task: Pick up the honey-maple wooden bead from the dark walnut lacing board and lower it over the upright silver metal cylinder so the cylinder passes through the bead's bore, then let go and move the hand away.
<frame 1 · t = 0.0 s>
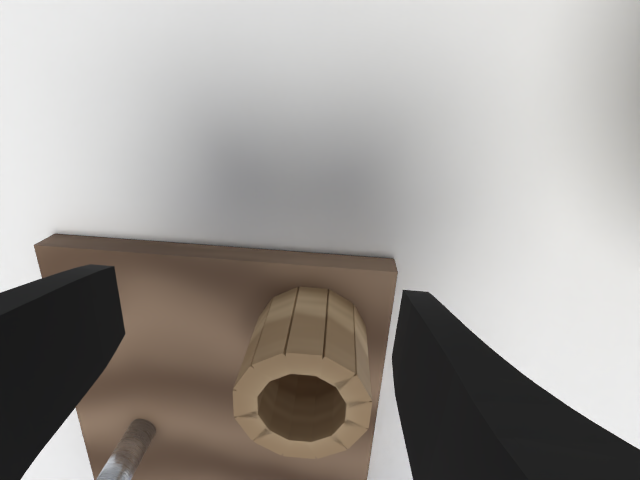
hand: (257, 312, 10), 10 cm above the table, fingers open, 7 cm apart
bead: (311, 334, 20), point 1 cm above the table, touching lacing board
lacing board: (228, 379, 24), on the table
silver metal cylinder: (143, 428, 24), resting on lacing board
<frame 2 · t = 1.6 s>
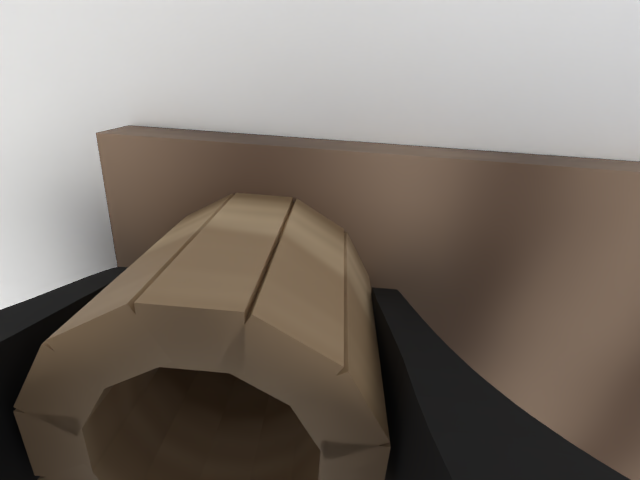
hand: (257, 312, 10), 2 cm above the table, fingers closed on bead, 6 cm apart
bead: (264, 293, 11), point 1 cm above the table, touching gripper, lacing board
lacing board: (411, 405, 14), on the table
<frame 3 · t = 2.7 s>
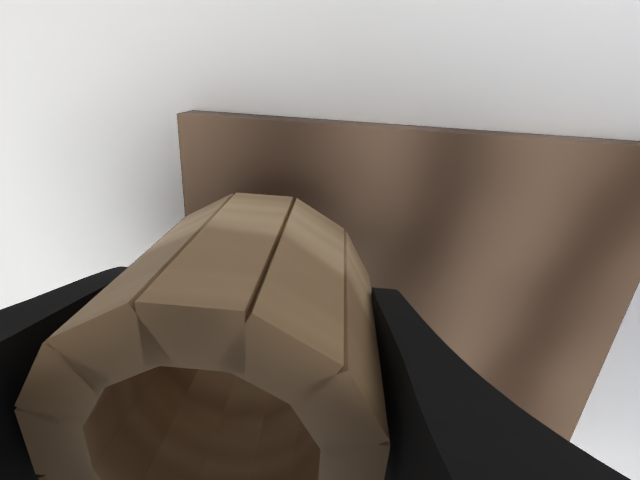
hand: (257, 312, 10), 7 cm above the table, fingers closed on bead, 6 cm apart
bead: (264, 293, 11), point 6 cm above the table, touching gripper
lacing board: (392, 322, 18), on the table
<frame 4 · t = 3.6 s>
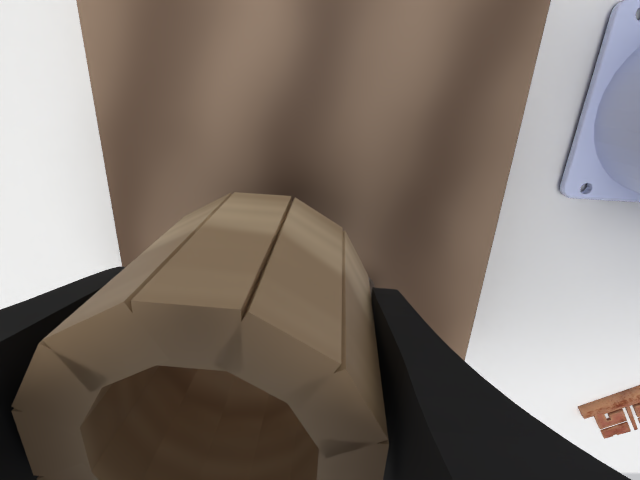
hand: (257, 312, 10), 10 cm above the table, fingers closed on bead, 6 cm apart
bead: (263, 293, 11), point 9 cm above the table, touching gripper
lacing board: (304, 179, 19), on the table
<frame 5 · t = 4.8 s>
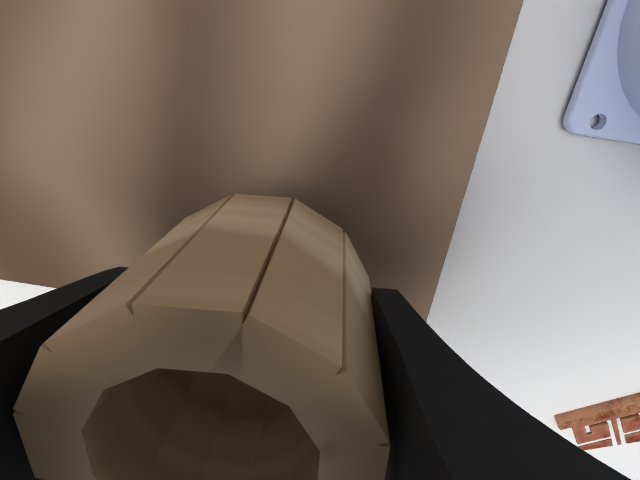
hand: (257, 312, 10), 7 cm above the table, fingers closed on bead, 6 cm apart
bead: (263, 294, 11), point 6 cm above the table, touching gripper
lacing board: (225, 78, 14), on the table
when the fingers open (5 cm above the table, at t = 5.7 s): bead drops 3 cm, resting on lacing board.
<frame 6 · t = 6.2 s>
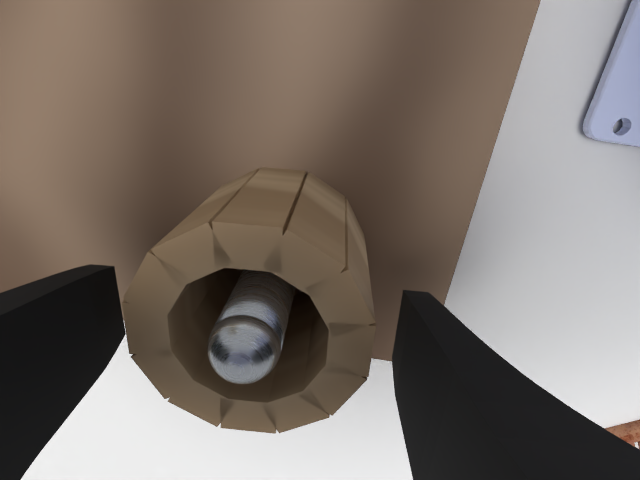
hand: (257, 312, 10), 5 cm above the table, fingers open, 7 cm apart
bead: (281, 249, 13), point 1 cm above the table, touching lacing board
lacing board: (213, 79, 13), on the table
silver metal cylinder: (280, 248, 13), resting on lacing board
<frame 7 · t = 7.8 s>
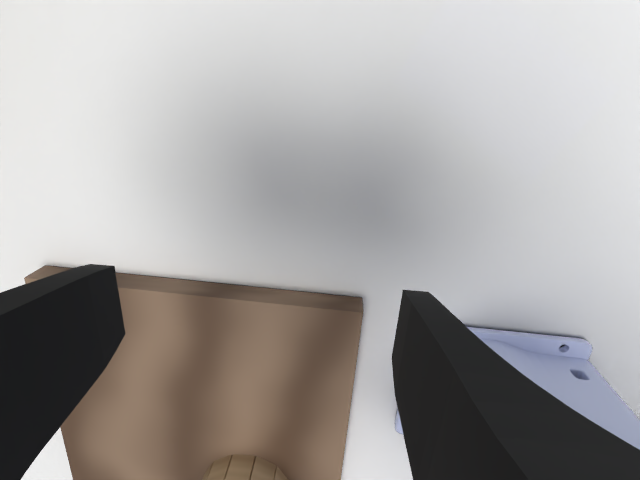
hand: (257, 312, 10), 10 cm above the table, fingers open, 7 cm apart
lacing board: (206, 404, 25), on the table
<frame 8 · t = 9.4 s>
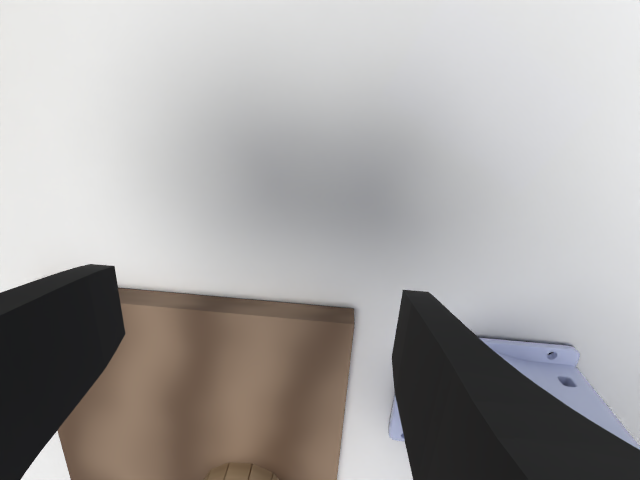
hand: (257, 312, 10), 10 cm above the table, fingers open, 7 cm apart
lacing board: (203, 413, 25), on the table
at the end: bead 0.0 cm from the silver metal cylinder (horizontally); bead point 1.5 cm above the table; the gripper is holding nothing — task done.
